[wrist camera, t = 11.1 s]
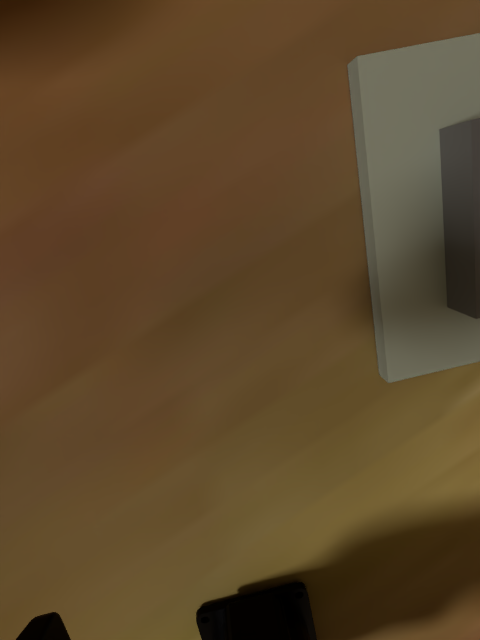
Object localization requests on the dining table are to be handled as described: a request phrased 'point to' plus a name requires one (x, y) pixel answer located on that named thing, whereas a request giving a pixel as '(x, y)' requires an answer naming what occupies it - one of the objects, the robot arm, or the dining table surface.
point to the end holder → (421, 201)
